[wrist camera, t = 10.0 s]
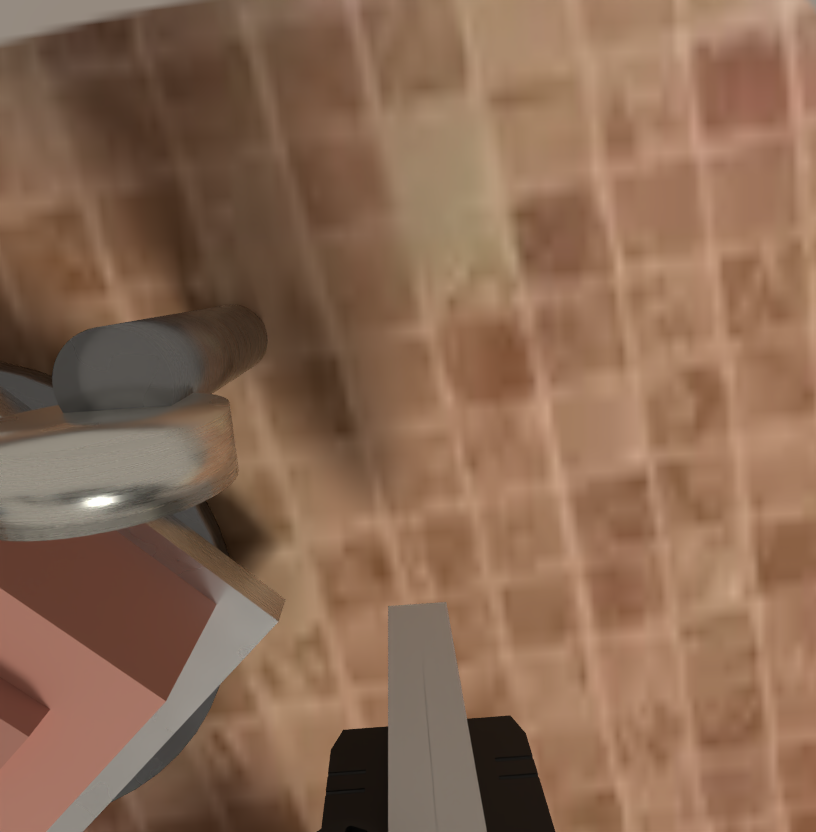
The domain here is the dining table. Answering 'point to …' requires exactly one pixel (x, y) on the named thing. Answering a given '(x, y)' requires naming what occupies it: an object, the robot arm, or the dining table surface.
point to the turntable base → (40, 394)
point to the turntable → (211, 657)
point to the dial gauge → (128, 426)
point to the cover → (82, 663)
